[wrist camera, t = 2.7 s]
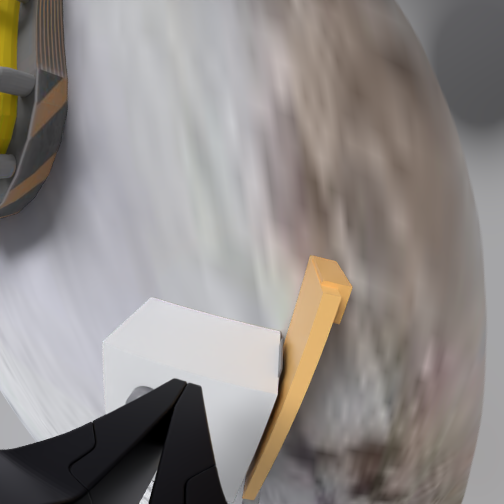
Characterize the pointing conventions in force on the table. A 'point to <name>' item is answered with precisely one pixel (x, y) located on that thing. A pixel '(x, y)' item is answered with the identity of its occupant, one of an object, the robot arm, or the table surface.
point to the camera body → (200, 374)
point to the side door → (299, 360)
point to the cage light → (30, 97)
